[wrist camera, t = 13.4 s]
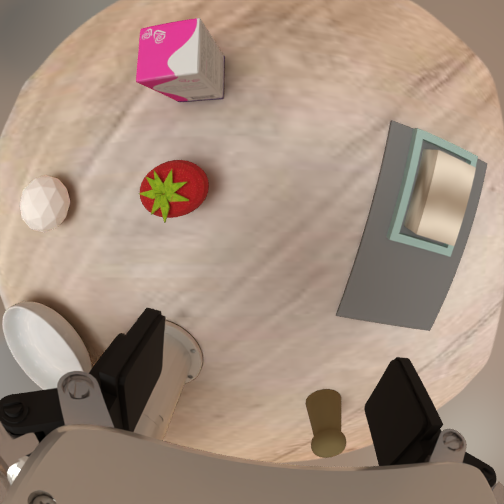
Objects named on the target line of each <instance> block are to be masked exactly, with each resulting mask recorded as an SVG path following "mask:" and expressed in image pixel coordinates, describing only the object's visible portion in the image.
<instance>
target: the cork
mask: <svg viewBox="0 0 504 504" xmlns="http://www.w3.org/2000/svg"><path fill="white" fill-rule="evenodd" d="M306 407H307V411H308V415H309V419H310V422H311V426H312V430H313V434H314V437H313V438H312V442H311V448H312V451H313V453H314V454H315V455H317V456H319V457H324V458H328V457H333V456H336V455H338V454H340V453H341V452H342V451H343V450H344V449H345V446H346V438H345V436H344V434H343V433H342V432H341V396H340V394H339V393H338V392H336V391H334V390H330V389H323V390H319V391H316V392H314V393H312V394H311V395H309V396H308V398H307V399H306Z"/></svg>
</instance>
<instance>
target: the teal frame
mask: <svg viewBox="0 0 504 504" xmlns="http://www.w3.org/2000/svg"><path fill="white" fill-rule="evenodd" d="M422 141H425V142H427V143H430V144H432V145H434V146H437V147H439V148H441V149H443V150H446V151H448V152H450V153H452V154H454V155H456V156H458V157H461V158H463V159H465V160H466V163H467V164H469V165H471V166H473V167H475V168H476V163H477V158H478V156H476V155H474V154H472V153H470V152H468V151H466V150H464V149H462V148H460V147H458V146H456V145H454V144H452V143H450V142H448V141H446V140H443V139H441V138H439V137H437V136H435V135H432V134H430V133H428V132H425V131H423V130H421V129H418V128H415V129H413V133H412V139H411V144H410V148H409V153H408V158H407V162H406V166H405V171H404V175H403V179H402V183H401V187H400V191H399V195H398V199H397V202H396V206H395V209H394V213H393V216H392V220H391V223H390V227H389V230H388V233H387V236H386V237H387V238H388V239H389V240H393V241H396V242H400V243H404V244H407V245H411V246H415V247H418V248H422V249H425V250H429V251H432V252H436V253H439V254H443V255H446V256H449V257H451V254H452V251H453V248H454V246H452V245H449V244H446V243H444V245H441V244H437V243H434V242H431V241H428V240H424V239H421V238H418V237H414V236H411V235H407V234H404V233H400V229H401V225H402V222H403V219H404V215H405V212H406V208H407V205H408V201H409V197H410V194H411V190H412V186H413V182H414V178H415V174H416V169H417V165H418V161H419V156H420V151H421V146H422Z"/></svg>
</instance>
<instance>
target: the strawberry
mask: <svg viewBox="0 0 504 504" xmlns="http://www.w3.org/2000/svg"><path fill="white" fill-rule="evenodd" d="M208 188H209V183H208V179H207V176H206V174H205V172H204V171H203V170H202V169H201V168H200V167H199V166H197V165H196V164H194V163H192V162H189V161H184V160H173V161H168V162H165V163H162V164H160V165H159V166H157V167H155V168H154V169H153V170H151V171H150V172H149V173H148V174H147V175H146V177H145V178H144V180H143V181H142V183H141V187H140V193H139V194H140V199H141V202H142V204H143V205H144V207H145V208H146V209H147V210H148V211H149V212H151V214H154V215H157V216H159V217H163V219H164V223H165V222H166V219H167V218H173V217H179V216H183V215H186V214H188V213H190V212H192V211H194V210H195V209H197V208H198V207H199V206H200V205H201V204H202V203H203V201H204V200H205V198H206V196H207V193H208Z"/></svg>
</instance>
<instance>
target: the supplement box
mask: <svg viewBox="0 0 504 504" xmlns="http://www.w3.org/2000/svg"><path fill="white" fill-rule="evenodd" d="M136 82H137V83H140V84H142V85H144V86H146V87H149V88H151V89H153V90H155V91H157V92H159V93H161V94H164V95H166V96H168V97H170V98H172V99H174V100H176V101H178V102H187V101H199V100H213V99H223V98H224V55H223V53H222V52H221V50H220V49H219V47H218V46H217V44H216V42H215V41H214V39H213V38H212V36H211V35H210V33H209V31H208V30H207V28H206V27H205V25H204V24H203V22H202V21H201V19H200V18H197V19H189V20H183V21H177V22H171V23H166V24H161V25H156V26H151V27H147V28H143V29H141V30H140V39H139V52H138V63H137V74H136Z"/></svg>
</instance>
